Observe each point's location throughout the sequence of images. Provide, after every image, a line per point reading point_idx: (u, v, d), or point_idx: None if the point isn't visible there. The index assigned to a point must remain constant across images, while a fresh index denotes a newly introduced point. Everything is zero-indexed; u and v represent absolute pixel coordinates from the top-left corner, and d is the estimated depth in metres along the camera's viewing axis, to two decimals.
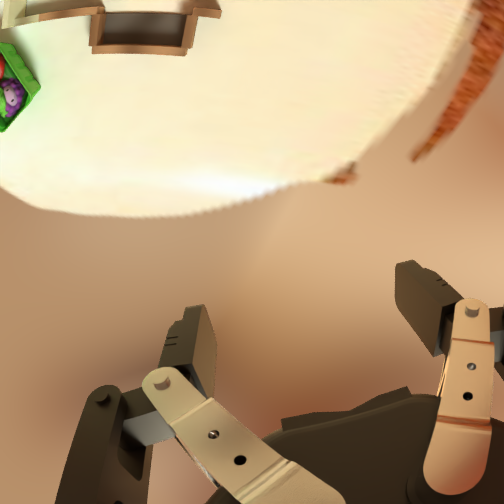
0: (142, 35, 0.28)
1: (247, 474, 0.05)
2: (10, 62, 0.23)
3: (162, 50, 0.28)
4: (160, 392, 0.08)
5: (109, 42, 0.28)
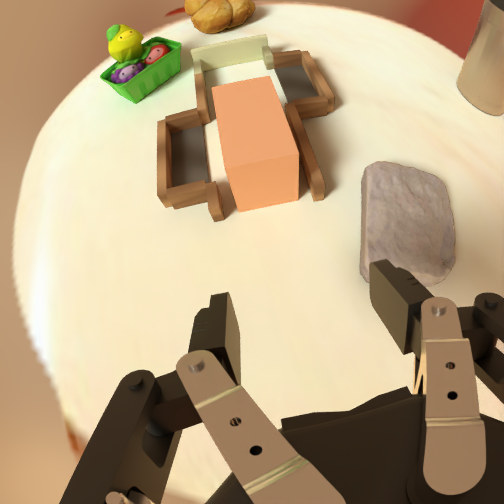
0: (180, 160, 0.34)
1: (260, 465, 0.05)
2: (157, 63, 0.36)
3: (161, 174, 0.31)
4: (196, 374, 0.08)
5: (172, 138, 0.36)
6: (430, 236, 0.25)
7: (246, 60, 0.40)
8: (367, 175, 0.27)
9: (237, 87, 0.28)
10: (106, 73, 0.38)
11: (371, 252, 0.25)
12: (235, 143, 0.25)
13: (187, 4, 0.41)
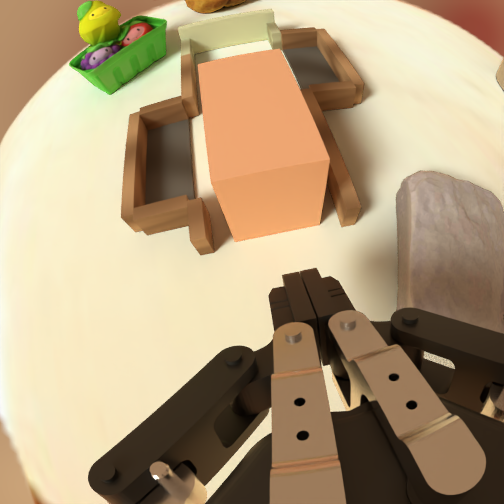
0: (157, 166, 0.25)
1: (297, 451, 0.05)
2: (135, 43, 0.27)
3: (128, 186, 0.22)
4: (298, 344, 0.09)
5: (149, 136, 0.27)
6: (491, 280, 0.16)
7: (247, 40, 0.31)
8: (410, 191, 0.18)
9: (234, 63, 0.19)
10: (76, 59, 0.28)
11: None
12: (229, 141, 0.16)
13: None
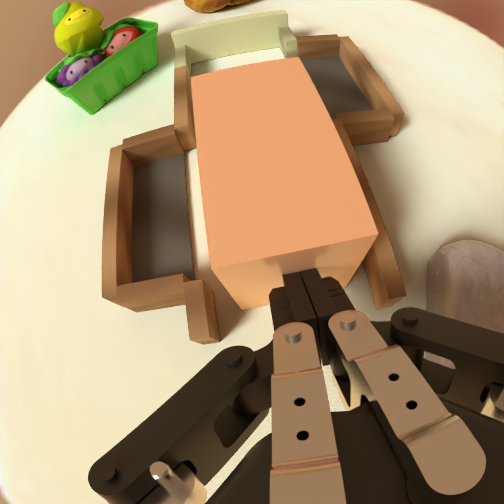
0: (146, 219, 0.20)
1: (297, 451, 0.05)
2: (120, 53, 0.22)
3: (109, 254, 0.17)
4: (298, 344, 0.09)
5: (135, 175, 0.22)
6: None
7: (255, 48, 0.26)
8: (450, 272, 0.14)
9: (239, 76, 0.14)
10: (53, 72, 0.24)
11: None
12: (236, 201, 0.12)
13: None
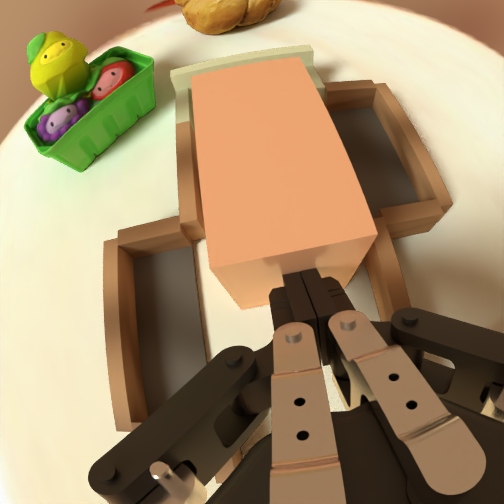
0: (153, 332, 0.17)
1: (298, 451, 0.05)
2: (108, 100, 0.20)
3: (117, 386, 0.14)
4: (298, 344, 0.09)
5: (136, 270, 0.19)
6: None
7: None
8: None
9: (239, 75, 0.14)
10: (33, 118, 0.21)
11: None
12: (235, 200, 0.12)
13: None
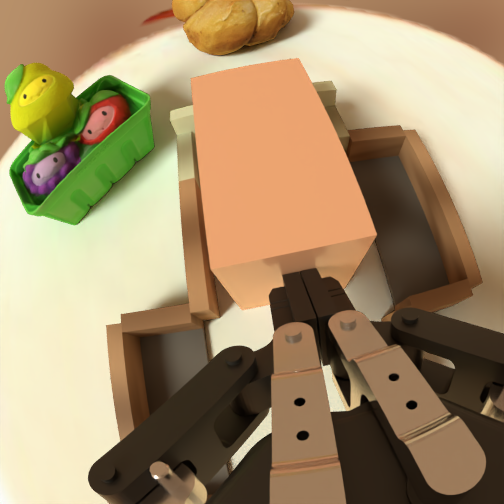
0: None
1: (298, 451, 0.05)
2: (100, 149, 0.18)
3: None
4: (298, 344, 0.09)
5: (143, 351, 0.17)
6: None
7: None
8: None
9: (239, 77, 0.15)
10: (18, 162, 0.19)
11: None
12: (235, 202, 0.12)
13: (175, 1, 0.23)
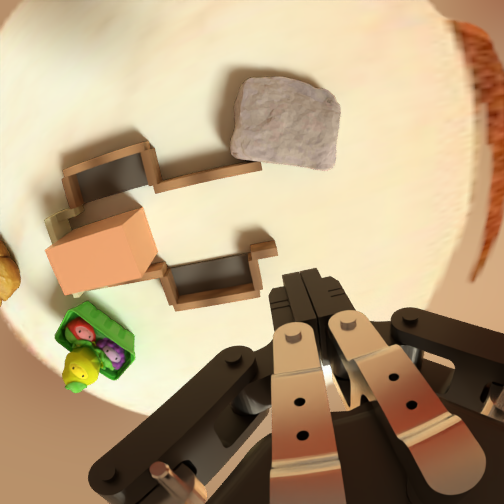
0: (213, 282, 0.40)
1: (297, 451, 0.05)
2: (99, 328, 0.38)
3: (239, 297, 0.39)
4: (298, 344, 0.09)
5: (185, 293, 0.41)
6: (307, 110, 0.30)
7: None
8: (250, 160, 0.32)
9: (62, 275, 0.32)
10: (110, 375, 0.41)
11: (321, 166, 0.32)
12: (118, 271, 0.32)
13: None
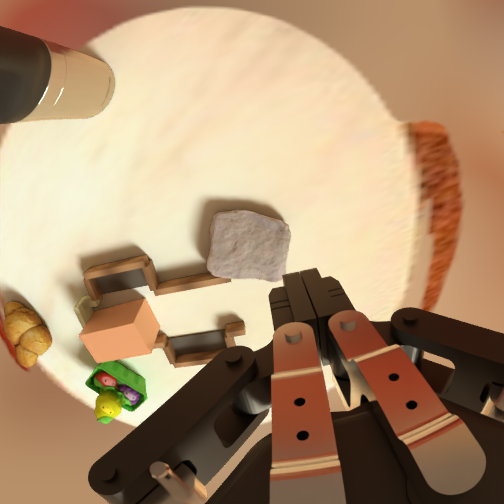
0: (201, 347, 0.54)
1: (298, 451, 0.05)
2: (120, 378, 0.51)
3: None
4: (298, 344, 0.09)
5: (181, 354, 0.54)
6: (263, 240, 0.44)
7: None
8: (221, 277, 0.45)
9: (93, 351, 0.45)
10: (128, 408, 0.54)
11: (274, 279, 0.46)
12: (134, 350, 0.45)
13: (32, 364, 0.48)
